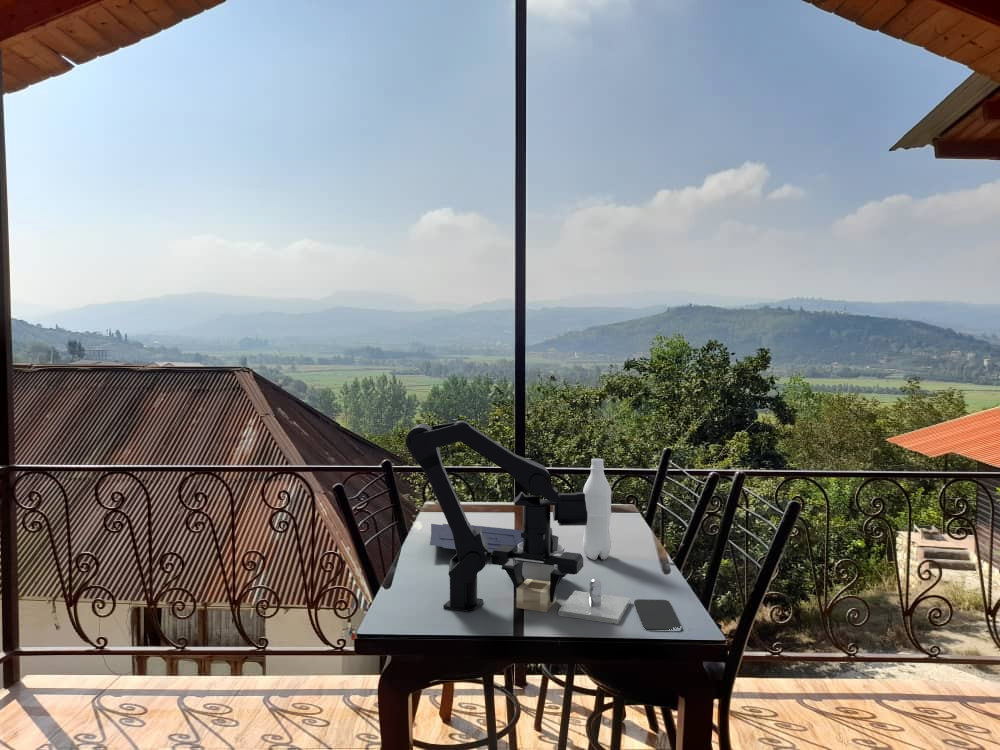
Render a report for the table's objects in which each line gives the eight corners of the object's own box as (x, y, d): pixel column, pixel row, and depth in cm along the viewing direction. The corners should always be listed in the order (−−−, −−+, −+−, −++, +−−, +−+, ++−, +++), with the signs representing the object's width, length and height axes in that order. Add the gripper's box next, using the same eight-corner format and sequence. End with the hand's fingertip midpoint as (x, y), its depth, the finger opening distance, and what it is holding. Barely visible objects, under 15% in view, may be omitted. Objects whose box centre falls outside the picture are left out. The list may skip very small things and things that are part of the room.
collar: (546, 612, 142) (546, 592, 142) (516, 607, 145) (516, 588, 145) (556, 601, 148) (556, 582, 148) (527, 597, 151) (527, 578, 151)
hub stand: (618, 624, 136) (618, 592, 136) (558, 615, 141) (558, 585, 140) (630, 602, 147) (630, 573, 147) (574, 595, 152) (574, 566, 151)
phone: (644, 629, 133) (633, 599, 148) (644, 633, 133) (633, 603, 148) (683, 629, 133) (668, 599, 148) (683, 634, 133) (668, 603, 148)
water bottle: (610, 562, 174) (611, 462, 173) (581, 560, 176) (582, 461, 174) (611, 553, 181) (612, 457, 180) (583, 552, 183) (584, 456, 182)
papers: (430, 531, 198) (431, 518, 198) (534, 541, 201) (536, 529, 201) (428, 558, 174) (430, 543, 174) (547, 569, 177) (549, 555, 176)
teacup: (510, 574, 165) (510, 541, 165) (552, 569, 169) (552, 536, 169) (534, 594, 152) (534, 558, 152) (578, 588, 156) (579, 553, 156)
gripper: (590, 520, 150) (589, 592, 151) (508, 512, 157) (508, 581, 157) (576, 533, 139) (575, 611, 140) (489, 524, 146) (489, 598, 147)
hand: (536, 599), depth 147 cm, fingers closed on collar, 6 cm apart
